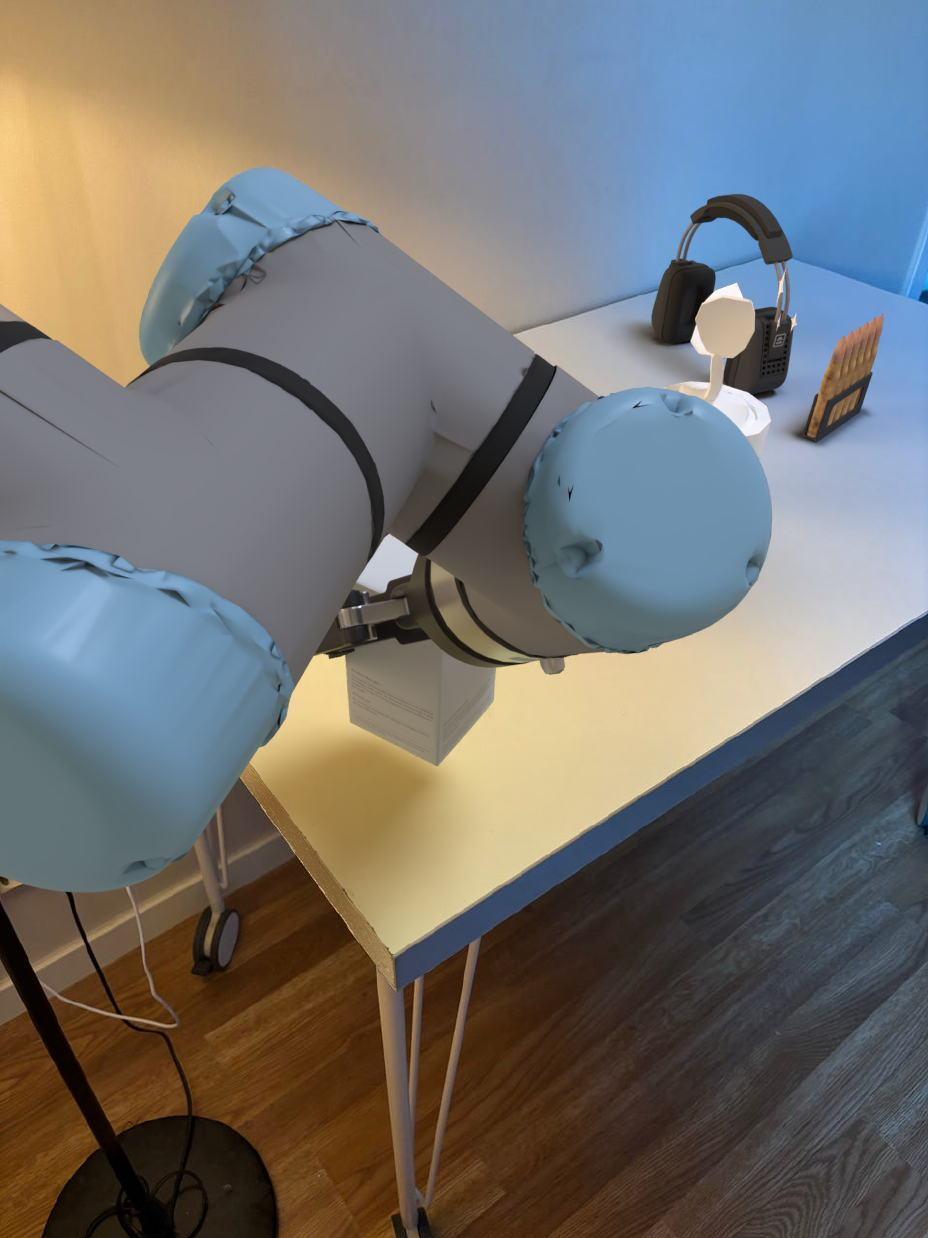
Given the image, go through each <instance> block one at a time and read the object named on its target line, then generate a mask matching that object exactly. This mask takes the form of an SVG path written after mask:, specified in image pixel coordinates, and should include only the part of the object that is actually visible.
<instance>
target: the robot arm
mask: <svg viewBox="0 0 928 1238" xmlns="http://www.w3.org/2000/svg"><path fill="white" fill-rule="evenodd" d="M143 305H144V306H143V308H142V311H141V317H140V320H139V325H138V340H139V341H138V342H139V347H140V353H141V355H142V357H143V359H144V360H145V362H146V364H147V365H148V368H146V369H145V370H144V371H143V372H141V373H140V374H139V375H138V376H136V377H135V378H134V379H133V380H131V381H130V382H128V383H127V385H126V386H123V385H122V384H120V383H119V382H118V381H116V380H114V379H113V378H112V377H110V376H109V375H108V374H106V373H105V372H103V371H101V370H100V369H99V368H98V367H96V366H95V365H93V364H92V363H91V362H90V361H88V360H86V359H85V358H84V357H82V355H80V354H78V353H76V352H75V351H74V350H72V349H70V348H69V347H68V346H66V345H65V344H64V343H62V342H61V341H60V340H57V339H53V338H52V337H50V336H49V335H47V334H45V333H44V332H43V331H41V330H40V329H38V328H37V327H35V326H34V325H32V324H31V323H29V322H27V321H26V320H25V319H23V318H21V317H20V316H19V315H17V314H16V313H14V312H13V311H11V310H10V309H9V308H8V307H6V306H4V305H3V304H2V303H0V877H2V878H5V879H8V880H10V881H13V882H16V883H19V884H22V885H26V886H30V887H34V888H38V889H43V890H48V891H54V892H65V893H81V894H83V893H84V894H86V893H103V892H111V891H116V890H120V889H124V888H125V889H126V888H128V887H131V886H134V885H137V884H140V883H142V882H144V881H146V880H149V879H151V878H152V877H155V876H156V875H158V874H160V873H162V872H163V870H164V869H165V868H167V867H168V866H170V865H171V864H173V863H175V862H178V861H181V860H182V859H183V858H184V857H186V855H187V854H188V853H189V852H190V850H191V849H192V848H193V847H194V845H195V844H196V843H197V841H198V839H199V838H200V837H201V835H203V832H204V831H205V829H206V828H207V826H208V825H209V823H210V822H211V820H212V819H213V818H214V816H215V814H216V813H217V811H218V810H219V808H220V807H221V805H222V804H223V802H224V801H225V799H226V798H227V796H228V795H229V794H230V792H231V790H232V789H233V788H234V786H235V785H236V783H237V781H238V780H239V779H240V777H241V776H242V774H243V772H244V771H245V770H246V768H247V767H248V765H249V763H250V762H251V761H252V759H253V758H254V756H255V755H256V753H257V752H258V750H259V749H260V748H262V747H265V746H267V744H268V743H269V742H270V741H271V740H272V739H273V738H274V737H275V736H276V735H277V733H278V731H279V730H280V729H281V726H283V724H284V723H285V721H286V719H287V716H288V711H289V705H290V702H291V698H292V695H293V692H294V691H295V689H296V688H297V686H298V684H299V682H300V681H301V678H302V677H303V675H304V673H305V672H306V670H307V668H308V666H310V663H311V661H312V660H313V658H314V657H316V656H319V655H325V656H327V657H328V659H329V660H331V659H332V660H333V659H335V658H336V659H337V658H342V657H343V656H344V657H345V655H346V654H349V653H352V652H354V651H355V649H354V648H356V647H360V646H364V645H369V644H373V643H377V642H381V641H385V640H390V639H394V638H396V639H397V641H398V642H399V643H400V644H401V645H406V644H411V643H417V642H422V641H426V640H432V641H433V642H434V643H435V644H436V645H437V646H438V647H439V648H440V649H442V650H443V651H444V652H445V653H447V654H448V655H450V656H451V657H453V658H455V659H457V660H459V661H461V662H464V663H466V664H469V665H473V666H478V667H485V668H496V669H497V668H505V667H511V666H519V665H525V664H529V663H533V662H537V661H539V664H540V667H541V669H542V671H543V673H544V674H545V675H550V676H551V675H552V676H553V675H558V674H561V673H562V672H564V670H565V668H566V662H565V658H567V657H572V656H573V657H574V656H578V655H585V654H598V653H606V654H616V653H617V654H622V655H632V654H640V653H645V652H648V651H649V650H650V649H657V648H659V647H661V646H662V645H664V644H666V643H670V642H674V641H677V640H681V639H684V638H687V637H689V636H693V635H694V634H696V633H699V632H702V631H704V630H705V629H707V628H710V627H712V626H714V624H716V623H717V622H720V621H722V619H723V618H724V617H727V615H728V614H730V613H731V612H732V611H733V610H735V609H736V607H738V606H739V605H740V603H741V602H742V601H743V600H744V599H745V598H746V596H747V595H748V593H750V591H751V589H752V587H753V586H754V585H755V584H756V583H757V582H758V580H759V577H760V574H761V572H762V569H763V567H764V565H765V562H766V560H767V555H768V552H769V548H770V544H771V538H772V529H773V505H772V497H771V490H770V487H769V483H768V479H767V476H766V472H765V469H764V467H763V464H762V463H761V460H760V459H759V458H758V456H757V454H756V452H755V450H754V449H753V447H752V445H751V444H750V442H749V441H748V439H747V438H746V436H745V435H744V434H743V433H742V431H741V430H740V429H739V428H738V427H737V426H736V425H735V423H734V422H733V421H732V420H731V419H730V418H728V417H727V416H726V415H725V414H724V413H723V412H721V411H720V410H719V409H717V408H716V407H714V406H713V405H711V404H710V403H708V402H706V401H705V400H703V399H701V398H699V397H697V396H692V395H687V394H684V393H681V392H677V391H673V390H668V389H662V388H661V387H660V388H658V387H652V386H644V387H643V386H642V387H633V388H627V389H623V390H620V391H616V392H610V393H609V395H606V396H605V395H598V394H596V393H595V392H594V391H592V390H591V389H590V388H588V387H587V386H585V385H584V384H583V383H581V382H580V381H579V380H578V379H577V378H575V377H574V376H572V375H571V374H570V373H569V372H567V371H565V370H564V369H563V368H562V367H560V366H559V365H558V364H556V365H553V364H551V363H550V362H549V361H548V360H546V359H545V358H543V357H542V356H541V355H540V354H537V353H535V351H534V350H533V349H532V348H530V347H529V345H527V344H525V343H524V342H523V341H521V340H520V339H519V338H518V337H516V336H515V335H514V334H512V333H511V332H509V331H508V330H507V329H506V328H504V327H503V326H502V325H500V324H499V323H498V322H497V321H495V320H494V319H493V318H491V317H490V316H489V315H488V314H486V313H485V312H483V311H482V310H481V309H480V308H479V307H477V306H476V305H474V304H473V303H472V302H470V301H469V300H467V298H465V297H464V296H463V295H462V294H460V293H459V292H457V291H456V290H455V289H453V288H452V287H451V286H450V285H448V284H446V282H444V281H443V280H442V279H440V278H439V277H437V276H436V275H435V274H434V273H432V272H431V271H430V270H428V269H427V268H425V267H424V266H423V265H422V264H421V263H419V262H418V261H417V260H415V259H414V258H413V257H411V256H410V255H409V254H407V253H406V252H405V251H404V250H402V249H401V248H399V246H397V245H396V244H395V243H393V242H392V241H390V240H389V239H388V238H387V237H385V236H384V235H383V233H382V232H381V230H380V229H379V227H378V226H377V225H376V224H374V223H373V222H372V221H371V220H369V219H367V218H363V217H362V216H361V215H360V214H358V213H354V212H350V211H347V210H346V209H344V208H342V207H341V206H339V205H338V204H337V203H334V202H333V201H332V200H330V199H328V198H327V197H325V196H324V195H322V194H321V193H319V192H318V191H316V190H315V189H313V188H311V187H310V186H308V185H307V184H306V183H304V182H302V181H301V180H300V179H298V178H296V176H294V175H292V174H290V173H289V172H287V171H284V170H282V169H280V168H275V167H268V166H261V167H253V168H249V169H247V170H244V171H241V172H239V173H237V174H236V175H234V176H232V177H230V178H229V179H228V180H227V181H226V182H224V183H222V184H221V186H220V187H219V188H218V189H217V190H216V191H215V192H213V194H212V196H211V198H210V199H209V201H208V202H207V204H206V205H205V206H204V208H203V209H202V211H200V213H197V214H194V215H192V216H191V218H190V220H188V222H187V223H186V225H185V226H184V227H183V229H182V230H181V232H180V233H179V235H178V236H177V238H176V239H175V241H174V243H173V244H172V246H171V247H170V249H169V251H168V252H167V254H166V256H165V258H164V260H163V261H162V263H161V264H160V267H159V269H158V271H157V273H156V275H155V277H154V279H153V281H152V283H151V286H150V288H149V290H148V294H147V297H146V300H145V303H144V304H143ZM388 534H390V535H392V536H393V537H395V538H396V539H398V540H399V541H401V542H402V543H404V544H405V545H406V546H408V547H409V548H410V549H412V550H413V551H415V552H416V553H418V556H417V559H416V561H415V564H414V568H413V571H412V574H410V575H407V576H403V577H400V578H397V579H394V580H391V581H389V582H388V584H387V589H386V591H385V592H384V593H380V594H377V595H374V596H370V597H369V592H368V591H362V592H360V590H352V589H353V587H354V585H355V583H356V582H357V580H358V578H359V576H360V575H361V573H362V572H363V571H364V569H365V567H366V566H367V564H368V562H369V561H370V560H371V559H372V557H373V555H374V554H375V552H376V551H377V549H378V547H379V546H380V544H381V542H382V541H383V539H384V538H385V537H386V536H387V535H388Z"/></svg>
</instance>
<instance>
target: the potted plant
mask: <svg viewBox="0 0 928 1238" xmlns="http://www.w3.org/2000/svg"><path fill="white" fill-rule="evenodd" d="M786 266H787V267H788V265H787V264H786ZM785 270H786V269H785ZM784 275H785V272H783V275H782V276H781V277H782V279H781V281H779V292H778V293H777V299H776V303H775V305H778V298H779V295H780V293H781V292H783V293H784V282H785V278H784ZM754 309H755V307H754V303H753V300H751V299H749V298H745V297H743V294H742V291H741V289H740V287H739V284H738V282H735V283H732V284H729V285H727V286H724V287H721V288H718V289H714V292H713V293H712V294H711V295H710V296H709V297H708V298H707V299H706V300H705V302H703V303H702V305H701V307H700V309H699V311H698V314H697V316H696V318H695V321H696V327H695V330H694V333H693V336H692V339H691V340H690V343H691V345H692V346H693V348H694V349H695V350H696V352H697V354H698V355H702V356H708V357H710V365H709V366H710V369H709V382H704V381H693V380H692V381H691V380H689V381H685V382H679V383H675V384H668V385H665V386H664V387H662V388H661V389H668V390H673V391H677V392H681V393H684V394H687V395H692V396H697V397H699V398H701V399H703V400H705V401H706V402H708V403H710V404H711V405H713V406H714V407H716V408H717V409H719V410H720V411H721V412H723V413H724V414H725V415H726V416H727V417H728V418H730V419H731V420H732V421H733V422H734V423H735V425H736V426H737V427H738V428H739V429H740V430H741V431H742V433H743V434H744V435H745V436H746V438H747V439H748V441H749V442H750V444H751V445H752V447H753V449H754V450H755V452H756V454H757V456H758V458H759V460H760V459H761V458H762V455H763V452H764V449H765V446H766V441H767V438H768V434H769V430H770V426H771V423H772V420H771V415H770V413H769V409H768V406H767V405H766V404H764V403H763V402H762V401H761V400H759V399H758V398H756V397H755V396H753V394H749V393H748V392H745V391H741V390H738V389H735V388H732V387H729V386H727V385H726V384H723V382H724V369H725V367H724V359H727V358H734V357H735V356H736V355H738V354H739V353H740V352H742V351H743V350H744V349H745V348H746V346H747V344H748V342H749V340H750V339H751V337H752V335H753V333H754V331H755V311H754ZM795 312H796V313H795V315H794V317H793V318H791V320H792V328H793V329H794V327H795V326H798V324H797V313H798V312H797V311H795ZM780 316H781V315H780ZM779 322H780V318H779V320H778V324H777V328H778V326H779ZM792 328H791V330H792ZM776 331H777V329H776Z"/></svg>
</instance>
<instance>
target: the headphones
mask: <svg viewBox="0 0 928 1238" xmlns="http://www.w3.org/2000/svg"><path fill="white" fill-rule="evenodd" d="M717 219H728V220H731V221H733V222H735V223H736V224H738V225H739V226H741V227H742V228H743V229H744V230H745V231H746V232H747V233H748V235H749V236H750V237H751V238H752V239H753V240H754V241H757V242H758V243H757V244H758V248H759V250H760V253H761V256H762V259H763V262H764V264H765V265H766V266H767V265H768V266H769V265H773V266H774V270H775V275H776V279H777V280H776V281H777V291H778V292H779V281H781V279H782V277H783V276H782V271H783V273H784V272H785V275H784V274H783V275H784V285H785V298H784V299H783V297H784V291H783V292H781V293H780V295H779V298H778V297H777V298H778V301H777V305H776V306H766V307H760V308H754V311H755V331H754V333H753V335H752V337H751V339H750V340H749V342H748V344H747V346H746V348H745V349H744V350H743V351H742V352H740V353H739V354H738V355H736V356H735V357H734V358H726V361H725V365H724V373H723V382H724V385H726V386H729V387H732V388H735V389H738V390H741V391H745V392H748V393H749V394H751V395H755V394H759V393H766V392H768V391H769V392H770V391H773V390H776V389H779V388H780V387H782V386H783V385H784V383H785V381H786V379H787V376H788V372H789V368H790V367H789V366H790V359H791V352H792V346H793V345H792V344H793V337H794V327H793V328H792V320H791V319H792V317H791V316H790V315H789V314H788V313H789V308H790V301H791V300H790V299H791V281H790V274H789V269H788V265H787V262H788V261H790V260H792V259H793V255H794V254H793V251H792V249H791V244H790V243H789V241H788V238H787V236H786V234H785V231H784V229H783V228H782V226H781V224H780V222H779V221H778V219H777V217H776V216H775V215H774V214H773V212H772V211H771V210H770V209H769V208H768V207H767V206H766V205H765V204H764V203H763V202H762V201H760V200H759V199H758V198H755V197H754V196H751V195H747V194H744V193H729V194H724V195H716V196H714V197H710V198H708V199H707V200H706V204H705V205H702V206H700V207H699V208H697V209H696V210H695V211H693V212H692V213H691V214H690V221H691V223H690V224H689V225H688V226H687V228H686V229H685V231H684V233H683V235H682V237H681V239H680V241H679V244H678V248H677V252H676V255H675V256H676V258H675V259H671V260H670V263H669V265H668V268H666V269H665V271H664V272H663V274H662V277H661V280H660V283H659V286H658V290H657V293H656V297H655V300H654V304H653V307H652V311H651V318H650V319H651V327H652V329H653V331H654V332H655V334H657V336H658V337H657V338H659V339H660V340H662V341H664V342H666V343H668V344H669V343H670V344H678V343H683V342H688V341H691V339H692V336H693V333H694V330H695V327H696V321H695V318H696V316H697V314H698V311H699V309H700V307H701V305H702V303H703V302H705V300H706V299H707V298H708V297H709V296H710V295H711V294H712V293H713V292H714V291H715V287H716V280H717V277H716V271H715V269H713V268H712V267H710V266H709V265H708V264H706V263H702V262H697V261H695V260H693V259H692V260H688V259H687V257H688V252H689V249H690V245H691V243H692V240H693V237H694V236H695V234H696V232H697V230H698V229H699V228H700V226H701V225H702V224H706V223H712V222H714V221H715V220H717ZM690 231H691V232H690ZM687 237H688V238H687ZM686 239H687V240H686ZM685 241H686V242H685ZM684 244H685V246H684ZM683 248H684V249H683ZM682 251H683V254H682ZM681 255H682V258H681ZM780 264H781V267H782V271H781V267H780ZM786 265H787V266H786ZM785 269H786V270H785ZM783 301H784V307H783ZM782 307H783V309H782ZM780 315H781V316H780ZM779 318H780V322H779V326H778V328H777V324H778V320H779ZM791 328H792V330H791ZM776 329H777V331H776Z"/></svg>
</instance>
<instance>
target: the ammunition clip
mask: <svg viewBox="0 0 928 1238" xmlns="http://www.w3.org/2000/svg"><path fill="white" fill-rule="evenodd" d="M884 317H885V316H884V313H880V314H879V315H878V316H877V318H876V317H873V318H872V319H871V321H870V322H868V321H866V322H865V323H864V324H863V325H862V327H861V326H858V327H857V328H856V329H855V330H854V331H849V333H848V335H847V336H845V335H843V336H842V337H841V338H840V339H839V340H838V342H837V343H836V346H835V348H834V350H833V352H832V356H831V358H830V360H829V363H828V366H827V368H826V370H825V372H824V374H823V378H822V380H821V383H820V387H819V390H818V393H816V394H815V395H814V397H813V401H812V403H811V406H810V411H809V413H808V416H807V420H806V423H805V426H804V428H803V432H802V434H801V436H802V437H803V438H805V439H808V440H810V441H812V442H816V443H818V442H819V441H821V440H822V439H824V438H825V437H826V436H828V435H830V434H831V433H832V432H834V431H835V430H837V429H838V428H839V427H841V426H842V425H844V424H845V423H846V422H848V421H849V420H851V419H852V418H854V417H855V416H856V415H858V414H860V412H861V411H862V407H863V405H864V401H865V399H866V395H867V393H868V389H869V387H870V383H871V379H872V377H873V371H872V369H873V367H874V363H875V361H876V357H877V353H878V349H879V343H880V339H881V336H882V332H883V327H884V319H885V318H884Z"/></svg>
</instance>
